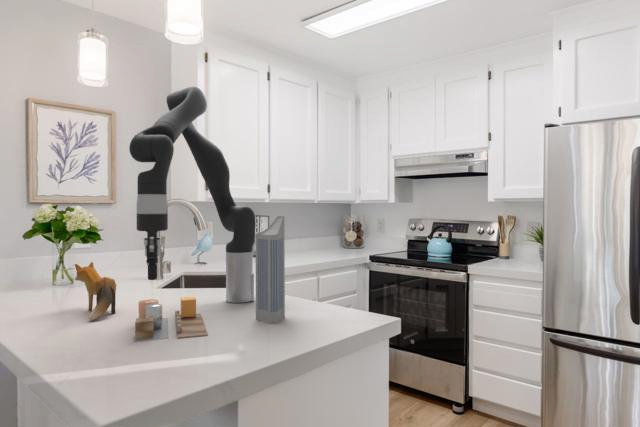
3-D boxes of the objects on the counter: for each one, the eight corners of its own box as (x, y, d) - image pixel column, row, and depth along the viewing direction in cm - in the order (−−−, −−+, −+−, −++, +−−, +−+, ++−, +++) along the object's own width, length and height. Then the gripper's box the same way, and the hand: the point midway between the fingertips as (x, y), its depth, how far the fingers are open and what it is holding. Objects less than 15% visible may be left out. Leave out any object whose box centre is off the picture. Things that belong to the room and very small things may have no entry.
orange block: (180, 314, 126) (180, 297, 125) (195, 313, 127) (195, 296, 127) (181, 317, 122) (181, 300, 122) (196, 316, 123) (196, 299, 123)
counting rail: (174, 320, 125) (174, 309, 125) (200, 318, 128) (200, 307, 128) (177, 343, 104) (177, 329, 104) (207, 340, 106) (207, 327, 106)
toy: (99, 304, 147) (99, 260, 147) (130, 320, 126) (129, 268, 126) (63, 309, 140) (62, 263, 140) (89, 327, 119) (89, 272, 119)
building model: (289, 317, 128) (289, 216, 128) (275, 324, 121) (274, 216, 121) (265, 315, 132) (265, 216, 132) (250, 321, 124) (249, 216, 124)
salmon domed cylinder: (158, 320, 121) (158, 298, 121) (158, 324, 116) (158, 302, 116) (139, 321, 119) (139, 300, 119) (138, 326, 115) (138, 303, 115)
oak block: (153, 333, 109) (153, 317, 109) (153, 337, 105) (153, 320, 105) (136, 334, 107) (136, 318, 107) (135, 339, 103) (135, 322, 103)
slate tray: (168, 322, 124) (167, 317, 124) (168, 343, 104) (168, 338, 104) (137, 324, 121) (137, 320, 121) (132, 346, 101) (132, 341, 101)
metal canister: (162, 325, 115) (162, 303, 115) (162, 329, 112) (162, 306, 112) (146, 327, 114) (145, 304, 114) (145, 331, 110) (145, 307, 110)
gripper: (167, 212, 107) (168, 282, 107) (167, 212, 120) (167, 275, 120) (134, 212, 105) (135, 284, 105) (138, 212, 117) (138, 276, 117)
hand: (152, 279), depth 112 cm, fingers closed
